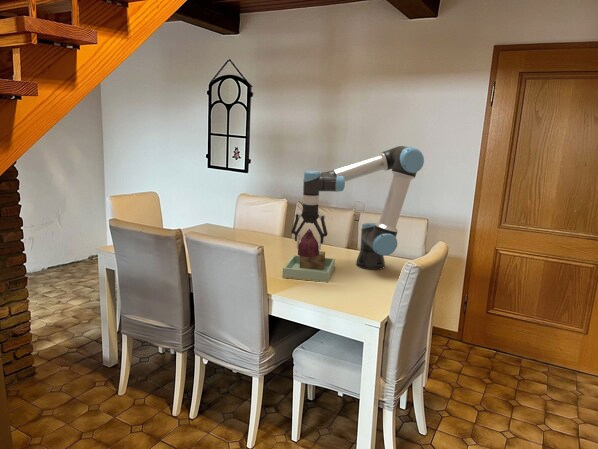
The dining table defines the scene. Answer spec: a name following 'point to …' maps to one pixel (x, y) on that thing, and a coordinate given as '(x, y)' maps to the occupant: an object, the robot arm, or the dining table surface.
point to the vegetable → (308, 245)
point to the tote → (308, 270)
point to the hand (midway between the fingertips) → (308, 248)
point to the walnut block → (313, 261)
